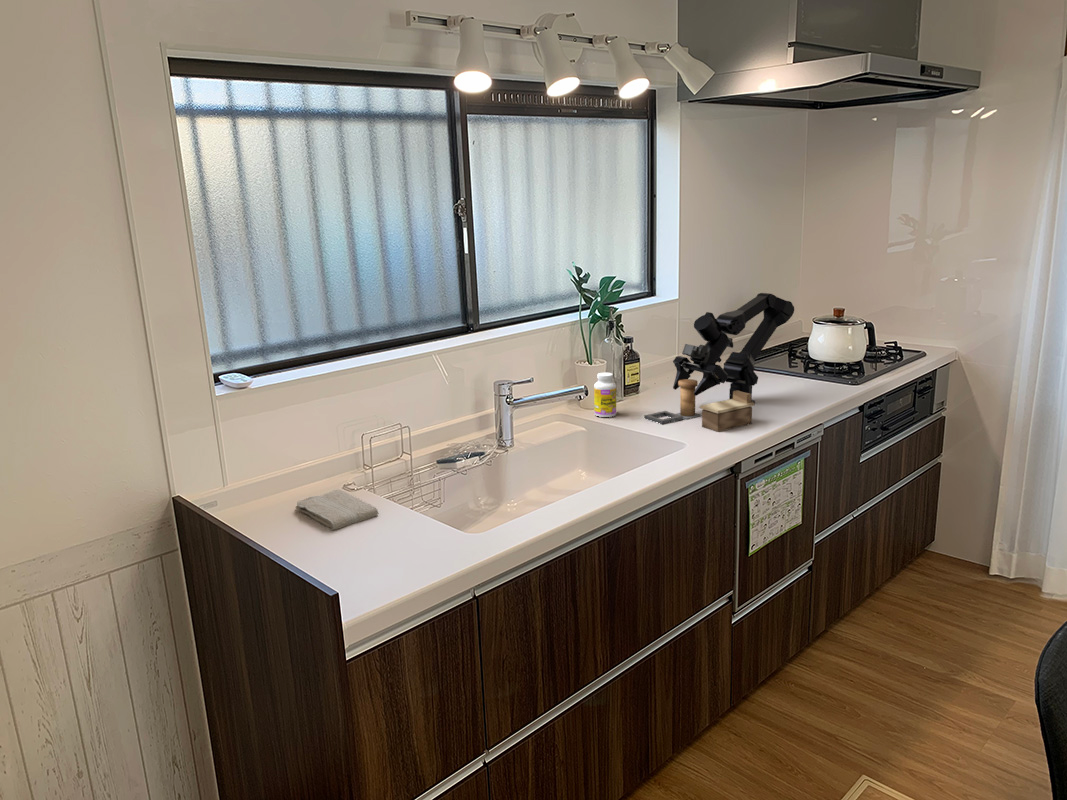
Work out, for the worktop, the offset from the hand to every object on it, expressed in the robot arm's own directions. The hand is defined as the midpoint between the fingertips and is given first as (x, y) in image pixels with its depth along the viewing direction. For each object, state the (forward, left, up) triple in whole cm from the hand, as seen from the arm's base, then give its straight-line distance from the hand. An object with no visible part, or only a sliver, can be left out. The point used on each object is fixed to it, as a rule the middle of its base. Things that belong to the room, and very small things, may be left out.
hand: (684, 391), depth 245 cm
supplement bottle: (+18, -16, -8) cm, 25 cm away
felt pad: (-1, 0, -8) cm, 8 cm away
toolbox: (-3, +14, -8) cm, 17 cm away
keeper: (+7, -2, -8) cm, 10 cm away
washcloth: (+110, +12, -8) cm, 111 cm away
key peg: (-1, 0, -7) cm, 7 cm away
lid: (-3, +14, -2) cm, 15 cm away
